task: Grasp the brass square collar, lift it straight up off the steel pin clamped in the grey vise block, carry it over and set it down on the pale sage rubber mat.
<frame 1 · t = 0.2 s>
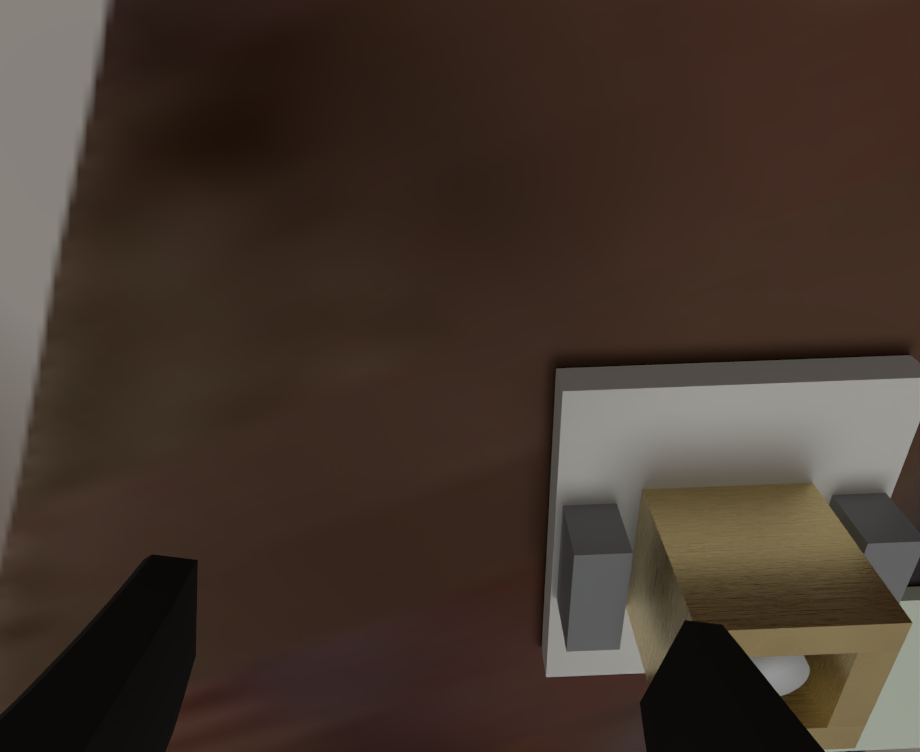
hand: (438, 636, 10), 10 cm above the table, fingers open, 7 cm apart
vise block: (701, 521, 23), on the table
brass collar: (713, 548, 22), point 1 cm above the table, touching vise block
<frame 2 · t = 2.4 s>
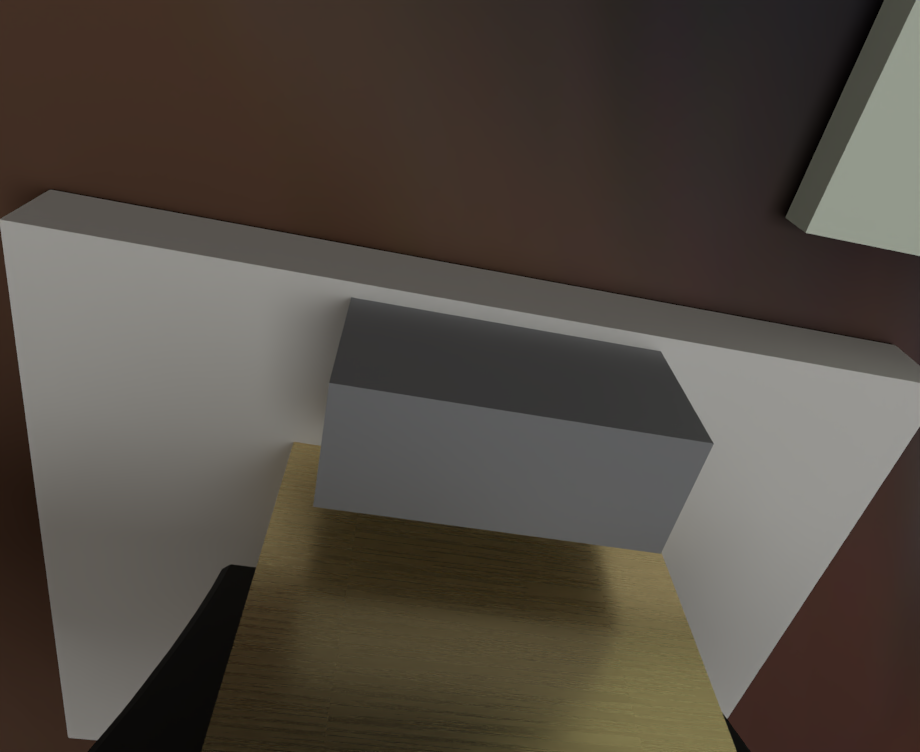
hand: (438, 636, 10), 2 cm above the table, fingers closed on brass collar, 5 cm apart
vise block: (438, 536, 12), on the table
brass collar: (438, 589, 11), point 1 cm above the table, touching gripper, vise block
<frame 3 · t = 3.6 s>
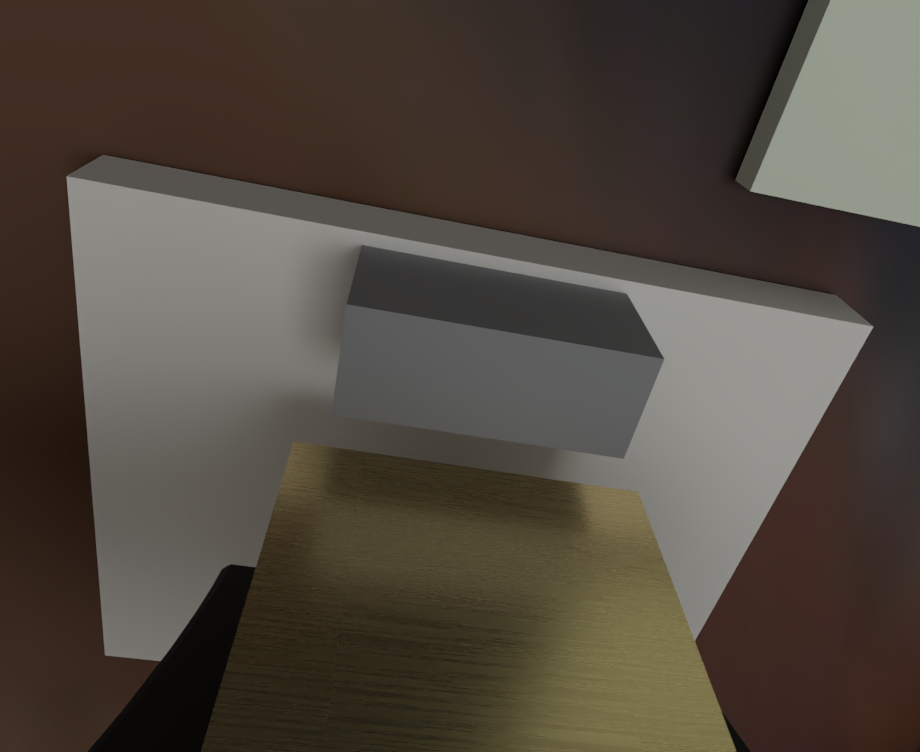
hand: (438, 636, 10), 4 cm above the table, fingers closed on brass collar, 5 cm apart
vise block: (436, 471, 14), on the table
brass collar: (438, 589, 11), point 3 cm above the table, touching gripper
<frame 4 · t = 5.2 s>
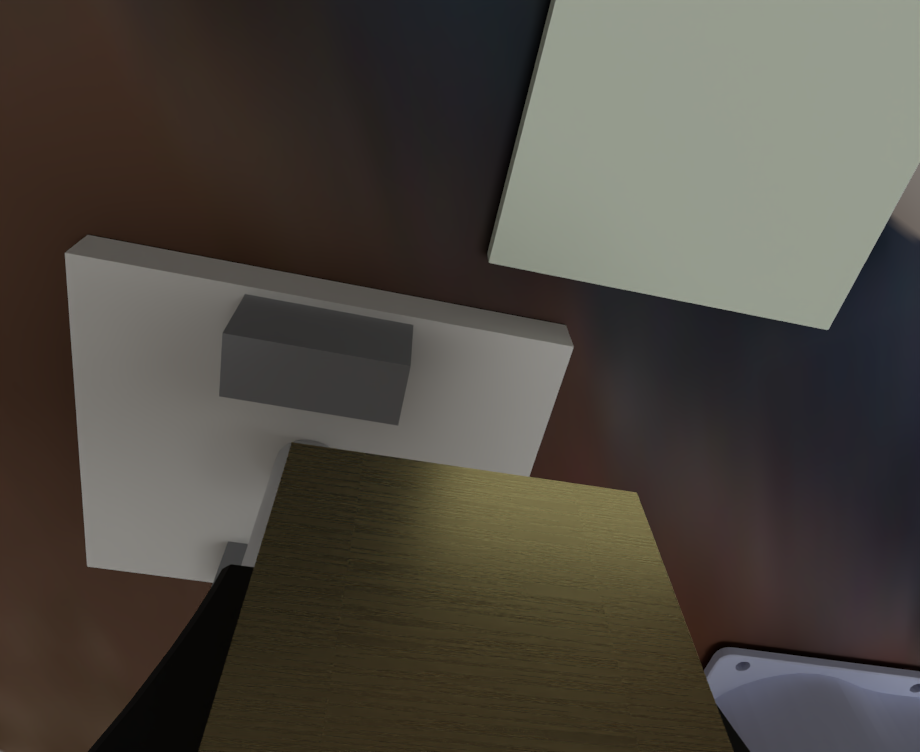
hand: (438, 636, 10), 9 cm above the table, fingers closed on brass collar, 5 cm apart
sage mat: (729, 106, 16), on the table
vise block: (315, 440, 20), on the table
brass collar: (437, 589, 11), point 9 cm above the table, touching gripper
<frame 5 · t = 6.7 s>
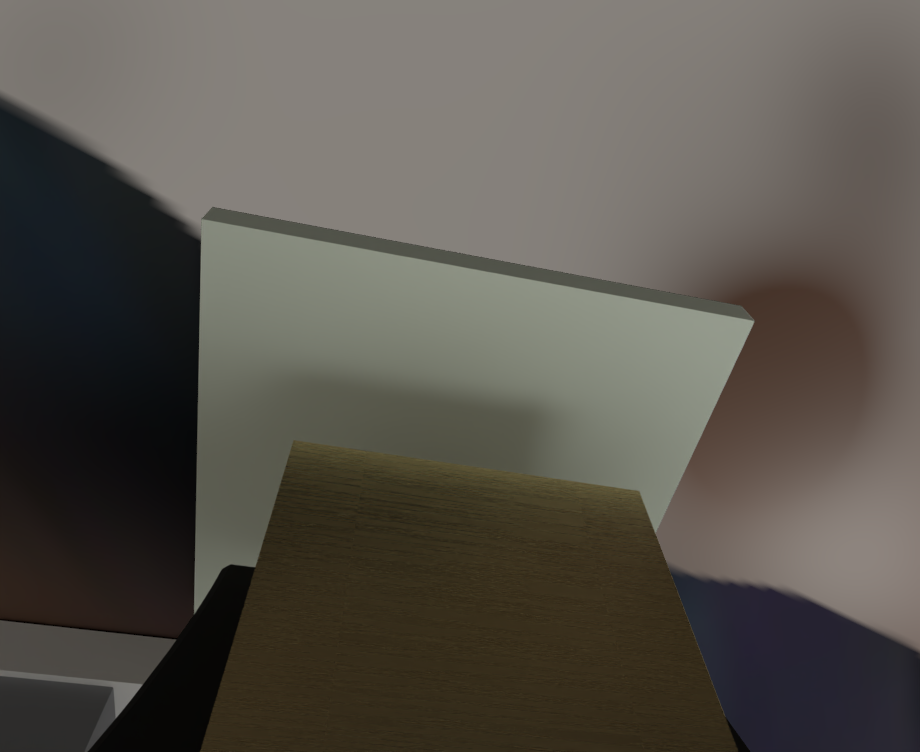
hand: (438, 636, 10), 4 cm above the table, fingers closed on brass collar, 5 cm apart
sage mat: (439, 469, 14), on the table
brass collar: (438, 588, 11), point 3 cm above the table, touching gripper
when the fingers open (3 cm above the table, at t = 7.9 s): brass collar drops 1 cm, resting on sage mat.
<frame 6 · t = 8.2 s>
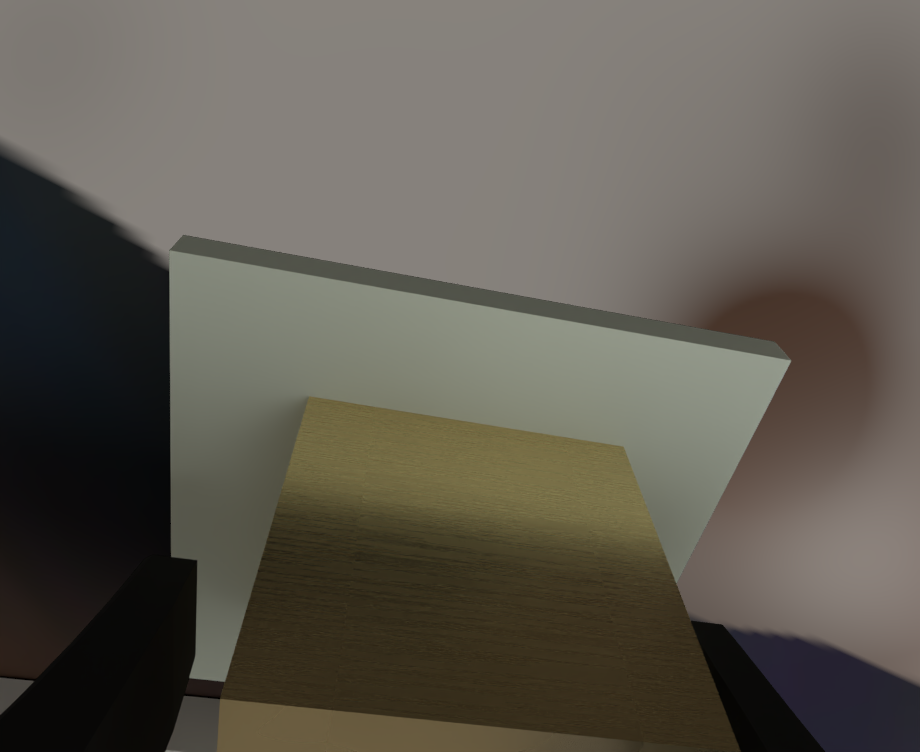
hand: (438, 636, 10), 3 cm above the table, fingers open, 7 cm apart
sage mat: (438, 516, 13), on the table
brass collar: (439, 539, 12), point 1 cm above the table, touching sage mat
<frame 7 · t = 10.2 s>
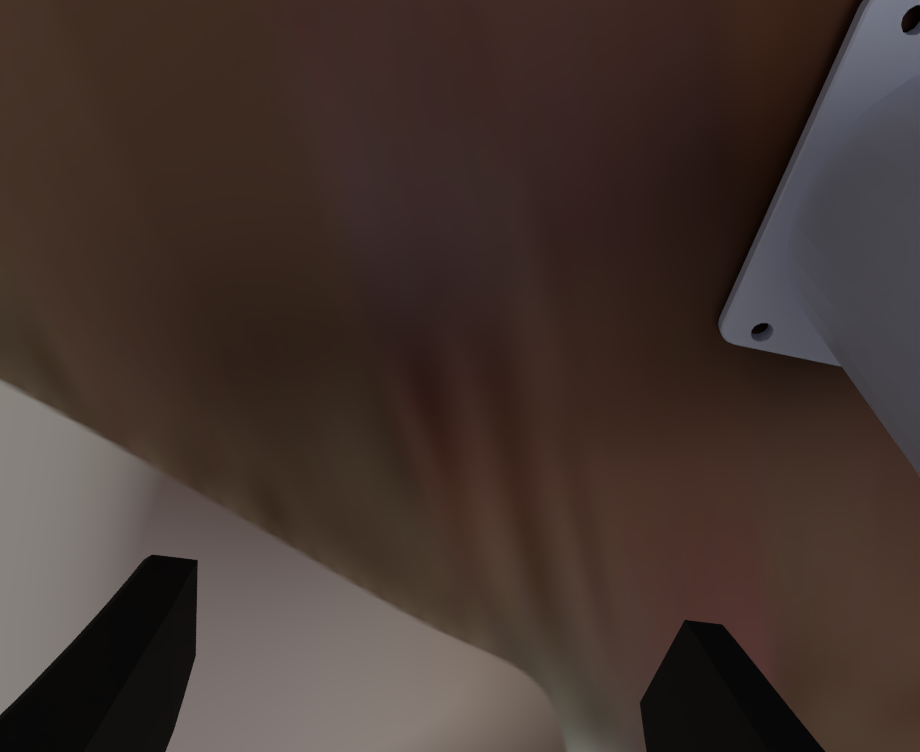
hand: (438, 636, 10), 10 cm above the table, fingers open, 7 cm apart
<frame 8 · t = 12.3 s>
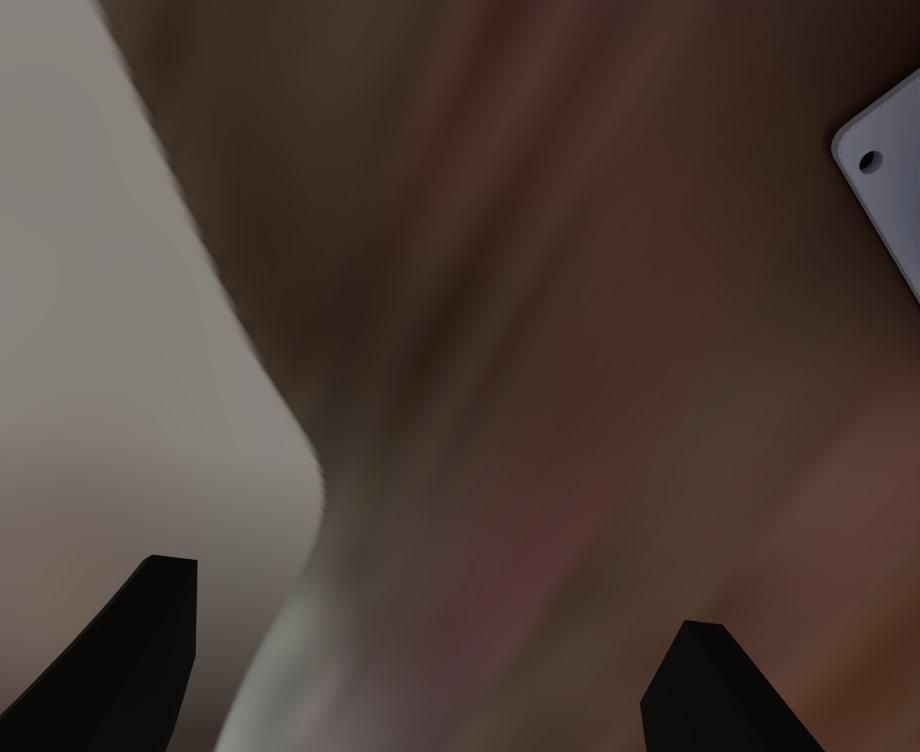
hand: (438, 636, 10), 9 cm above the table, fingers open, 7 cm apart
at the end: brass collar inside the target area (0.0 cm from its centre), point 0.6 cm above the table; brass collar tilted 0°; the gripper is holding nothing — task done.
